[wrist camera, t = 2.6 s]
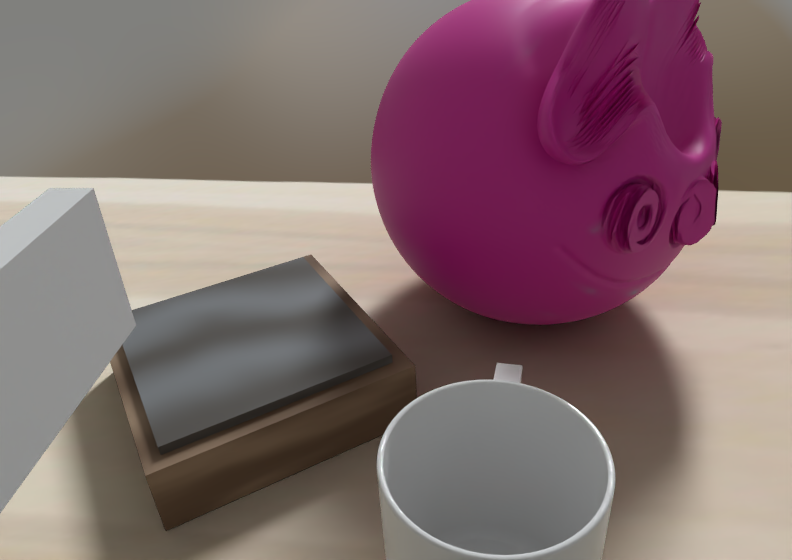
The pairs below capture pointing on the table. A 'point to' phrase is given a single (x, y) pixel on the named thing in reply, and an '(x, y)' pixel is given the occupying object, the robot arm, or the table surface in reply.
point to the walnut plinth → (254, 384)
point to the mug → (494, 475)
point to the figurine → (548, 153)
